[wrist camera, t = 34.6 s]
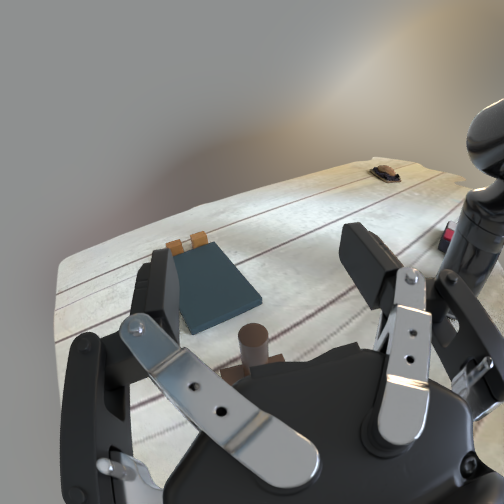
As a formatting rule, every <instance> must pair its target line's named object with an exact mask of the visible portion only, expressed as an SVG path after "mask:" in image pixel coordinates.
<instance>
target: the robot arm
mask: <svg viewBox="0 0 504 504" xmlns="http://www.w3.org/2000/svg"><path fill="white" fill-rule="evenodd" d="M466 144H467V151H468V155H469V158H470V160H471V161H472V163H473V164H474V166H475V167H476V168H477V169H479V170H480V171H481V172H483V173H484V174H486V175H489V176H491V177H494V178H497V179H496V181H495V182H494V183H493V184H491V185H489V186H487V187H484V188H479V189H473V190H470V191H469V192H468V193H467V195H466V197H465V200H464V204H463V207H462V210H461V213H460V216H459V219H458V222H457V225H456V228H455V231H454V234H453V236H452V239H451V242H450V244H449V247H448V249H447V252H446V254H445V257H444V259H443V262H442V264H441V266H440V268H439V271H438V273H437V275H436V277H435V278H425V277H424V276H423V274H422V273H421V272H420V271H418V270H417V269H414V268H412V267H404V266H403V264H402V263H401V262H400V261H399V260H398V258H397V257H396V256H395V255H394V254H393V252H392V251H391V250H389V248H388V247H387V246H386V244H384V242H383V241H382V240H381V239H380V238H379V237H378V236H377V235H375V234H374V233H372V232H371V231H367V229H366V228H365V227H364V226H363V225H362V224H361V223H360V222H356V223H348V224H344V226H343V229H342V235H341V241H340V247H339V258H340V261H341V263H342V264H343V266H344V268H345V269H346V271H347V272H348V274H349V275H350V277H351V278H352V280H353V282H354V283H355V285H356V286H357V288H358V290H359V291H360V293H361V294H362V296H363V298H364V299H365V301H366V302H367V304H368V306H369V307H370V309H371V310H375V309H378V308H381V310H382V312H381V314H380V319H379V324H378V329H377V334H376V338H375V343H374V347H373V350H370V349H360V347H359V345H358V343H357V342H354V343H351V344H347V345H344V346H340V347H337V348H333V349H331V350H329V351H328V352H326V353H324V354H322V355H320V356H318V357H316V358H314V359H313V360H311V361H307V362H273V363H268V364H263V365H258V366H252V367H249V369H250V375H248V376H246V377H244V378H242V379H240V380H238V381H237V382H236V383H234V384H233V385H232V386H230V385H229V384H228V383H226V382H225V381H224V380H223V379H222V378H221V377H219V376H218V375H217V374H216V373H215V372H214V371H212V370H211V369H210V368H209V367H208V366H207V365H206V364H205V363H203V362H202V361H201V360H200V359H199V358H198V357H197V356H196V355H195V354H194V353H192V352H191V351H190V350H189V349H188V348H186V347H184V348H181V347H180V343H179V291H180V287H179V278H178V274H177V270H176V267H175V263H174V260H173V256H172V252H171V250H170V248H166V249H159V250H154V251H153V253H152V259H151V262H150V263H144V264H143V265H142V266H141V268H140V269H139V271H138V273H137V278H136V283H135V290H134V293H133V299H132V305H131V311H130V316H129V317H127V318H126V319H125V320H124V321H123V322H122V323H121V325H120V328H119V331H117V332H115V333H113V334H110V335H108V336H105V337H103V338H99V337H98V336H97V335H96V334H95V333H93V332H85V333H82V334H80V335H79V336H77V337H76V338H75V339H74V340H73V342H72V344H71V346H70V351H69V357H68V362H67V369H66V375H65V383H64V391H63V400H62V411H61V428H60V476H61V489H62V496H63V499H64V501H65V503H66V504H504V477H503V476H502V475H500V474H499V473H497V472H496V471H494V470H492V469H491V468H489V467H488V466H487V465H485V464H484V463H483V462H482V461H481V460H480V459H479V458H478V456H477V454H476V452H475V448H474V441H473V422H474V421H479V420H481V419H482V418H483V417H485V416H486V415H488V414H489V413H491V412H492V411H493V410H495V409H496V408H497V407H499V406H500V405H501V404H503V403H504V338H503V336H502V335H501V333H500V331H499V330H498V328H497V327H496V325H495V324H494V322H493V321H492V319H491V318H490V316H489V315H488V313H487V312H486V310H485V309H484V308H483V306H482V305H481V303H480V302H479V301H478V299H477V297H478V295H479V293H480V291H481V290H482V288H483V286H484V284H485V283H486V281H487V279H488V277H489V275H490V273H491V271H492V269H493V268H494V266H495V264H496V262H497V260H498V257H499V255H500V253H501V251H502V248H503V246H504V99H503V100H501V101H499V102H497V103H495V104H493V105H491V106H489V107H487V108H485V109H483V110H482V111H480V112H479V113H478V114H477V116H476V117H475V118H474V120H473V121H472V123H471V125H470V127H469V130H468V134H467V141H466ZM447 317H449V318H453V319H457V320H458V322H459V331H458V333H457V332H456V330H455V329H454V327H453V325H452V324H451V322H450V321H449V319H448V318H447ZM431 343H432V345H433V347H434V349H435V351H436V352H437V354H438V356H439V358H440V360H441V362H442V364H443V366H444V368H445V370H446V372H447V374H448V376H449V378H450V380H451V382H452V384H451V387H452V390H449V389H448V388H446V387H444V386H442V385H440V384H438V383H437V382H435V381H433V380H431V379H429V378H428V377H429V367H430V354H431ZM147 377H149V378H150V379H151V380H152V382H153V383H154V384H155V385H156V386H157V388H158V389H159V390H160V391H161V392H162V393H163V394H164V395H165V397H166V398H167V399H168V400H169V401H170V402H171V403H172V404H173V405H174V406H175V408H176V409H177V410H178V411H179V412H180V413H181V414H182V415H183V416H184V417H185V418H186V419H187V420H188V421H189V422H190V423H191V424H192V425H193V426H194V427H195V428H196V429H197V430H198V431H199V434H198V435H197V437H196V438H195V440H194V441H193V443H192V444H191V446H190V447H189V449H188V450H187V452H186V453H185V455H184V456H183V458H182V459H181V461H180V462H179V464H178V465H177V466H176V468H175V469H174V471H173V472H172V474H171V475H170V477H169V478H168V480H167V481H166V483H165V486H164V489H162V488H160V487H159V486H157V485H156V484H155V483H154V481H153V480H152V478H151V476H150V472H149V470H148V468H147V467H146V465H145V464H144V463H143V462H141V461H140V460H138V459H136V458H134V457H133V448H132V436H131V419H130V384H131V383H134V382H137V381H139V380H142V379H145V378H147Z"/></svg>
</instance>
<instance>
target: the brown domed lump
mask: <svg viewBox="0 0 504 504" xmlns="http://www.w3.org/2000/svg"><path fill="white" fill-rule="evenodd" d="M370 171H371V172H372V173H373V174H374V175H376V176H377V177H379V178H380V179H382V180H383V181H385V182H386V183H387V182H388V183H389V182H392V183H393V182H401V180H400V179H399V174H397V175H396V173H395V172H394V170H393V169H392V168H391V167H389V166H386V165H383V166H378V168H377V167H374V168H373V169H370Z"/></svg>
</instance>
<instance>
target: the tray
mask: <svg viewBox="0 0 504 504" xmlns="http://www.w3.org/2000/svg"><path fill="white" fill-rule="evenodd" d="M173 260H174V263H175V267H176V270H177V274H178V278H179V287H180V291H179V310H180V312H181V314H182V316H183V318H184V320H185V322H186V324H187V326H188V328H189V330H190V332H191V334H192V335H194V334H197V333H199V332H201V331H204V330H206V329H208V328H210V327H213V326H215V325H217V324H219V323H222V322H224V321H226V320H228V319H230V318H233V317H235V316H237V315H239V314H241V313H244V312H246V311H248V310H250V309H252V308H254V307H256V306H258V305H261V304H262V297H261V296H260V295H259V293H258V292H257V291H256V290H255V289H254V288H253V286H252V285H251V284H250V283H249V282H248V281H247V280H246V278H245V277H244V276H243V275H242V274H241V273H240V271H239V270H238V269H237V268H236V267H235V266H234V264H233V263H232V262H231V261H230V260H229V258H228V257H227V256H226V255H225V254H224V253H223V251H222V250H221V249H220V248H219V247H218V245H217V244H216V243H215V242H211V243H208V244H205V245H203V246H200V247H197V248H195V249H192V250H189V251H186V252H184V253H181V254H178V255H176V256H173Z"/></svg>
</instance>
